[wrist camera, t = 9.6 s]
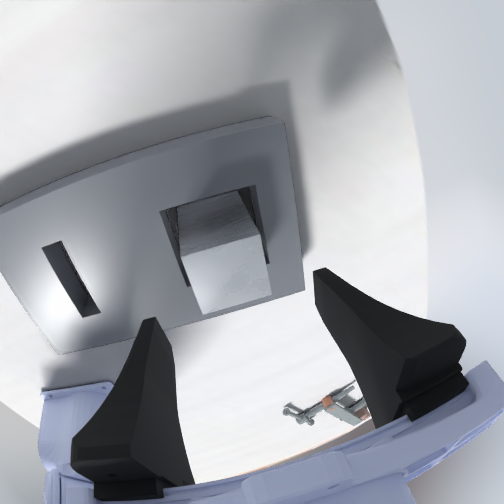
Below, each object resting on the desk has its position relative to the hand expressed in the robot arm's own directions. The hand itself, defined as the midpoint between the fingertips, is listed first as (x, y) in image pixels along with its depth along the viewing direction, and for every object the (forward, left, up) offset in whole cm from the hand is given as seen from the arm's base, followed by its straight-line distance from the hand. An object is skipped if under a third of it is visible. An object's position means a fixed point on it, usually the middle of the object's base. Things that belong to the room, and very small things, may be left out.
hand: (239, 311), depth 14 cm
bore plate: (-5, 0, -9) cm, 10 cm away
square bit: (0, 0, -9) cm, 9 cm away
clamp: (+9, -31, -10) cm, 34 cm away
